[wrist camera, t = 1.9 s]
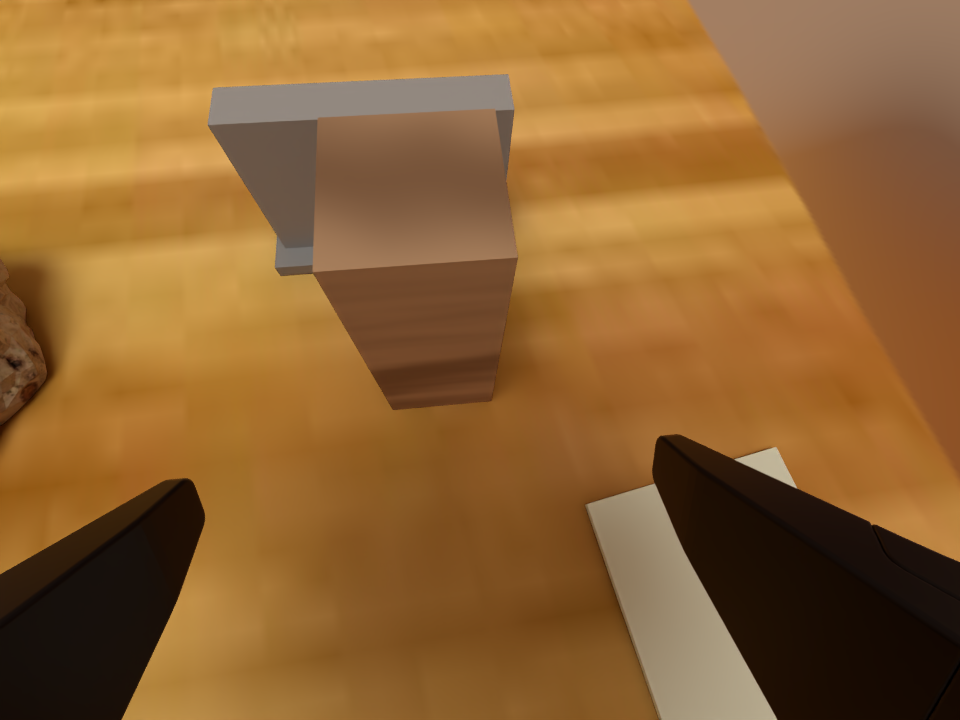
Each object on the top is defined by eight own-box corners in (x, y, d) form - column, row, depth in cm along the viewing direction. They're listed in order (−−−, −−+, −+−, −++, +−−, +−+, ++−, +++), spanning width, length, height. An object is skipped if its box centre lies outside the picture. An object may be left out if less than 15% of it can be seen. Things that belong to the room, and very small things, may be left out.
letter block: (491, 401, 24) (517, 257, 11) (393, 409, 23) (312, 272, 11) (480, 308, 25) (493, 101, 13) (389, 316, 25) (317, 109, 13)
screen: (280, 275, 26) (190, 149, 17) (284, 211, 27) (203, 67, 19) (510, 259, 27) (530, 131, 18) (501, 197, 28) (516, 53, 20)
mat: (584, 504, 22) (586, 503, 21) (771, 448, 23) (776, 446, 23) (671, 755, 18) (676, 760, 18) (884, 674, 20) (892, 676, 19)
